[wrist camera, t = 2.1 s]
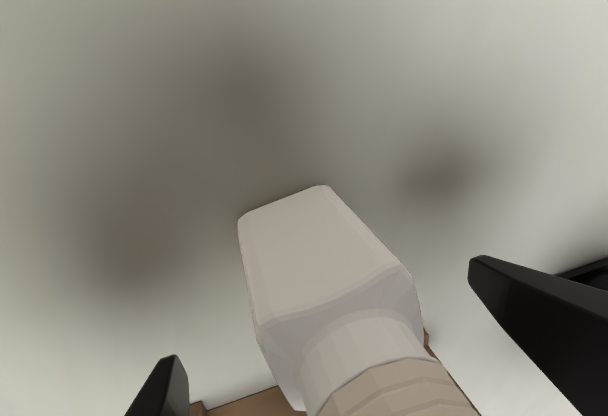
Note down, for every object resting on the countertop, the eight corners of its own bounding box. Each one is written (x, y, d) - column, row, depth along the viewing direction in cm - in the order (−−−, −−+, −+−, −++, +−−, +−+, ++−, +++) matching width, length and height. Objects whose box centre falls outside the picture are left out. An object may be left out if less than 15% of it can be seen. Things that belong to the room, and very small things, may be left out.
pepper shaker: (347, 252, 15) (532, 509, 6) (265, 287, 14) (347, 611, 6) (326, 174, 13) (550, 396, 4) (230, 212, 12) (279, 533, 4)
